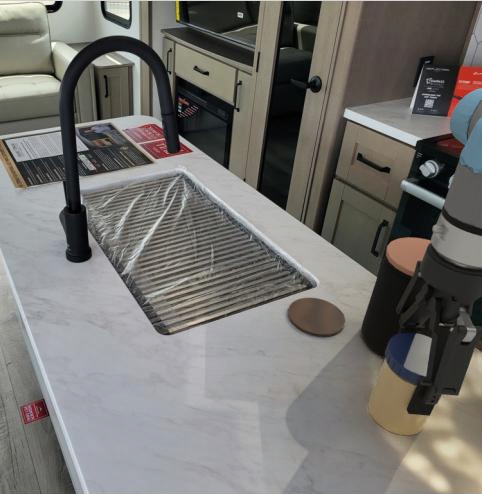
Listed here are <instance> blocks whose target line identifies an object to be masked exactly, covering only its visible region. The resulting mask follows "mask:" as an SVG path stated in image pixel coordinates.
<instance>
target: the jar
mask: <svg viewBox="0 0 482 494" xmlns="http://www.w3.org/2000/svg"><path fill="white" fill-rule="evenodd" d="M416 387H417V385H416V384H413V383H411V382H409V381H407V380H405V379H403V378H401V377H400V376H398V375H397V374H396V373H395V372H394V371H393V370H392V369H391V368H390V367H389V365H388V364H387V362H386V359H385V358H384V360H383V362H382V365H381V367H380V370H379V373H378V375H377V377H376V381H375V384H374V386H373V388H372V391H371V394H370V396H369V400H368V403H367V407H368V411H369V414H370V415H371V417H372V419H373V420H374V421H375V422H376V423H377V424H378V425H379V426H381V428H382V429H385V430H387V431H389V432H391V433H393V434H395V435H399V436H414V435H416V434H419V433H420V432H421V431H422V430H423V429H424V427H425V425H426V423H427V421H428V419H429V417H430V416H426V415H415V414H408V412H407V410H406V409H407V407H408V404H409V402H410V400H411V398H412V396H413V393H414V391H415V389H416Z"/></svg>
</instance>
